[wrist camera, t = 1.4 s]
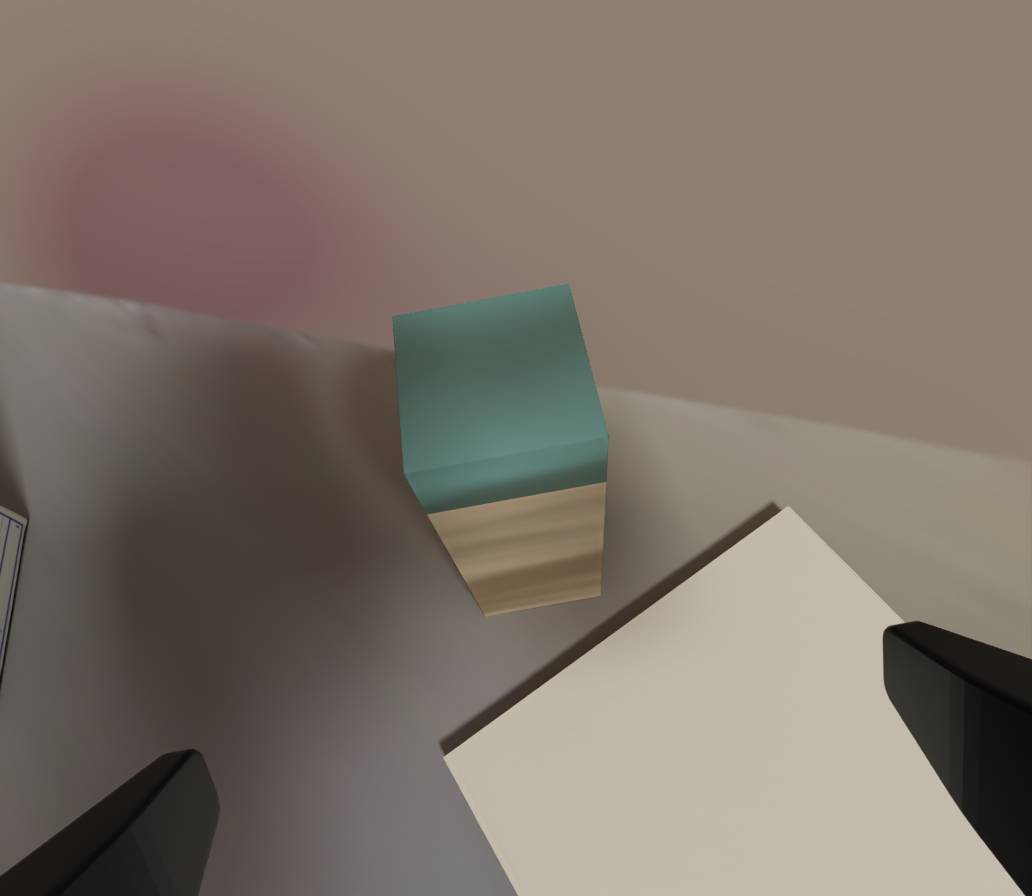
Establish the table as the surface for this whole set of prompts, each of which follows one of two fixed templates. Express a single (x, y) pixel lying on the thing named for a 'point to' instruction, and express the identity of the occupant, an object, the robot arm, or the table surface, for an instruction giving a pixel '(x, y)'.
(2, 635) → the medicine box
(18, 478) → the table surface
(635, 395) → the table surface
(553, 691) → the cream square tile
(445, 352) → the birch block
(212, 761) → the table surface
